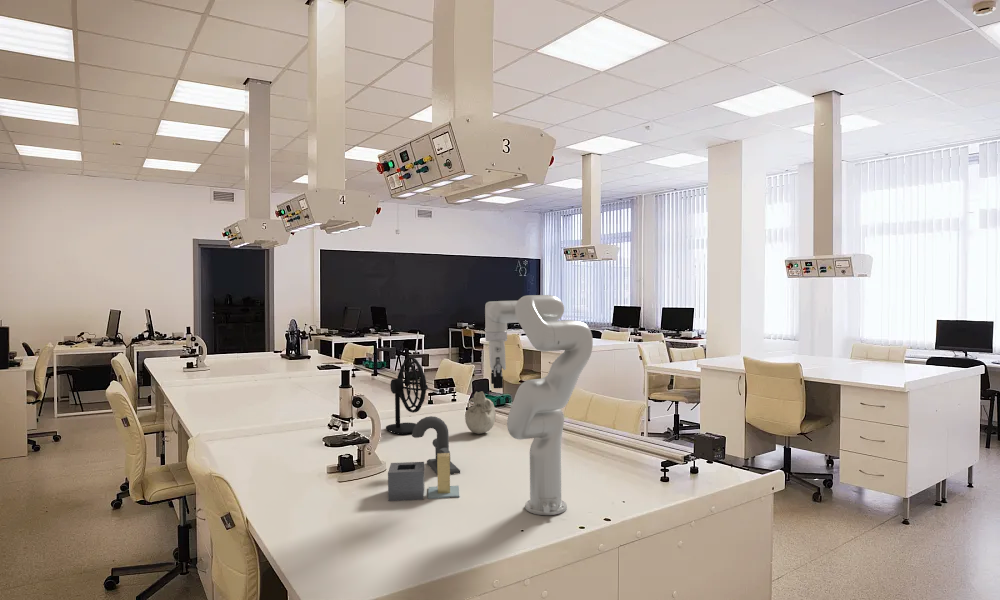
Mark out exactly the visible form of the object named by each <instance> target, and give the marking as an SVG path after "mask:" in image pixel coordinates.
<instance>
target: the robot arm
mask: <svg viewBox="0 0 1000 600" xmlns="http://www.w3.org/2000/svg"><path fill="white" fill-rule="evenodd" d="M484 307H485V308H484V314H485V315H484V316H485V317H484V318H485V319H484V320H485V321H484V322H485V325H484V326H485V330H484V331H485V342H488V353H489V354H488V356H489V358H488V359H489V366H490V370H491V372H490V383H491V385H492V386H493V389H503V388H504V376H503V371H505V370H506V369H507V366H506V365H507V364H506V345H505V344H506V343H505V342H507V341H508V324H514V323H515V324H516V323H518V324H519V325H520V327H521V328H522V330H523V332H524V334H525V335H526V337H527V339H528V340H529V342H530V344H531V345H532V346H533V348H534V349H535V350H537V351H539V352H558V351H563V352H562V353H561V354H560V355H558V357H557V358H556V359H555V360H554V361H553V363H552V364H551V365H550V368H549V371H548V373H547V375H546V376H544V377H542V378H535V379H528V380H525V381H523V382H522V383H521V384H520V385H519V386H518V388H517V390H516V393H515V396H514V399H513V402H512V404H511V407H510V409H509V412H508V415H507V422H506V427H507V431H508V433H509V435H510V436H511V438H513V439H516V440H519V441H522V440H529V439H532V442H531V444H530V447H529V498H530V499H528V500H527V501H526V502H525V504H524V508H525V510H526V511H528V512H529V513H531V514H534V515H539V516H553V515H554V516H555V515H560V514H562V513H565V511H566V510H567V503H566V502H565V500H562V438H563V430H564V426H565V425H564V424H565V417H564V413H563V410H562V409H564V408H565V407H566V405H568V403H569V401H570V398H571V396H572V394H573V392H574V390H575V387H576V385H577V382H578V380H579V378H580V376H581V374H582V372H583V370H584V369H585V367H586V365H587V364H588V363H589V360H590V357H591V355H592V352H593V346H594V345H593V344H594V341H593V340H594V338H593V334H592V333H593V332H592V330H591V328H590V327H589V326H588V325H587V324H586V323H585V322H582V321H580V320H574V319H573V320H571V319H570V320H569V319H568V320H560V319H561V318H562V317H563V316H564V312H565V306H564V303H563V301H562V300H561V299H560V298H558V297H557V296H555V295H551V294H543V295H542V294H539V295H538V294H537V295H536V294H533V295H532V294H531V295H530V294H529V295H523V296H522V297H520V298H519V299H518V300H498V301H497V300H496V301H495V300H494V301H487V302H486V303H485V305H484Z"/></svg>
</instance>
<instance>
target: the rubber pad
mask: <svg viewBox="0 0 1000 600" xmlns="http://www.w3.org/2000/svg"><path fill="white" fill-rule="evenodd" d="M427 492H428V493H427V499H428V500H430V499H432V500H433V499H450V497H457V498H460V485H450V493H438V485H437V486H428V491H427Z"/></svg>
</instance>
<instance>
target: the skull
mask: <svg viewBox="0 0 1000 600" xmlns="http://www.w3.org/2000/svg"><path fill="white" fill-rule="evenodd" d="M471 403H472V406H470V405H471ZM464 419H465V420H464V421H465V424H466V426H467V428H468V430H469V431H470V432H472V433H474V434H477V435H481V434H484V433H487V432H489V431H490V430H491V429H492V428H493V427H494V424H495V419H496V408H495V405H494V402H493V401H492V400H491V399H489V398H486V395H485V392H484V391H479V392H478V391H475V393H474V394H473V397H472V398H470V399H469V401H468V402H467V410H466V411H465V414H464Z"/></svg>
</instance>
